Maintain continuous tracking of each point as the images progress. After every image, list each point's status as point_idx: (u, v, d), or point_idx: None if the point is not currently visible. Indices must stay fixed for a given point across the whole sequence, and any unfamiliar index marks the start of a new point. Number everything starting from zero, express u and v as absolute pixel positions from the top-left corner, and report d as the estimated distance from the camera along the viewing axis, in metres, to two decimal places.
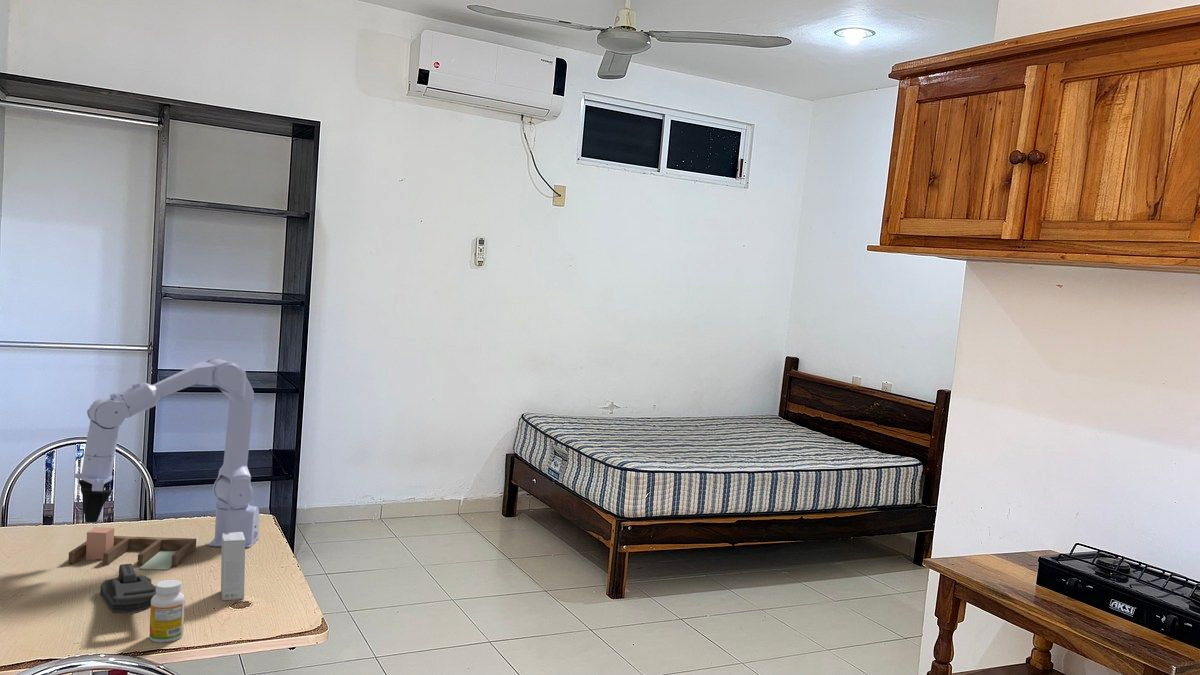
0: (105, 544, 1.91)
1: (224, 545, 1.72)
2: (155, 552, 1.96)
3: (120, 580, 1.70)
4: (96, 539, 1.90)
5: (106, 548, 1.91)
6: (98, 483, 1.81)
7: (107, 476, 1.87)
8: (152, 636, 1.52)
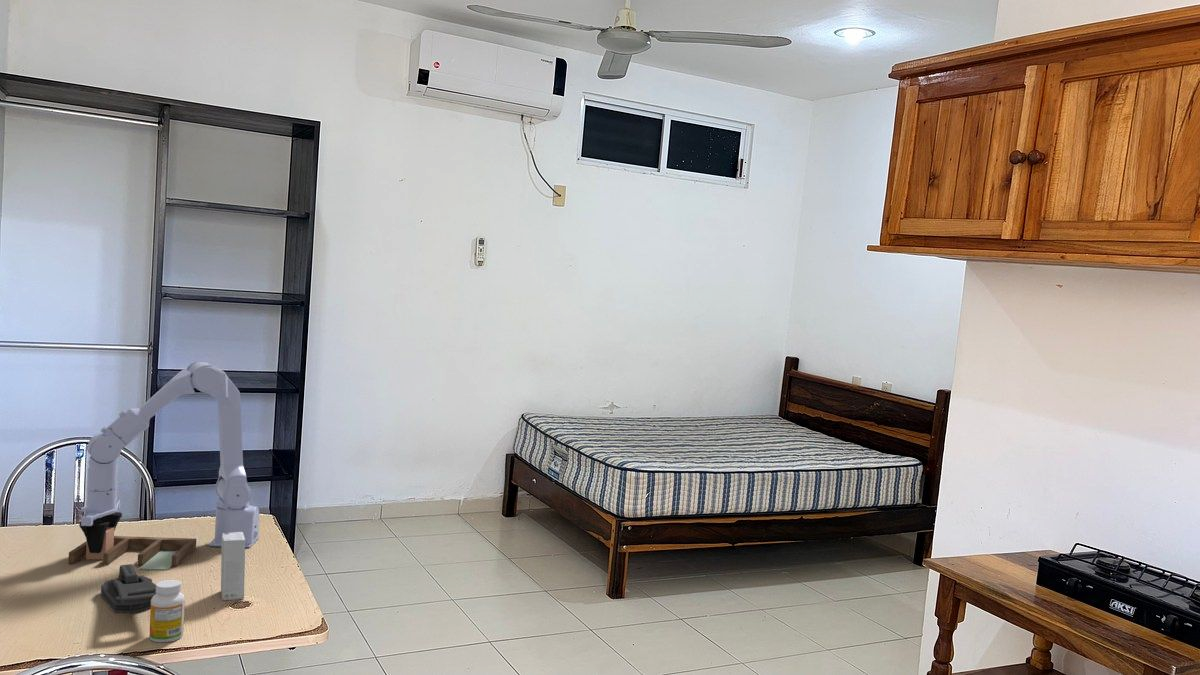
0: (105, 544, 1.91)
1: (224, 545, 1.72)
2: (155, 552, 1.96)
3: (121, 581, 1.70)
4: None
5: (106, 548, 1.91)
6: (86, 518, 1.85)
7: (106, 510, 1.90)
8: (152, 636, 1.52)
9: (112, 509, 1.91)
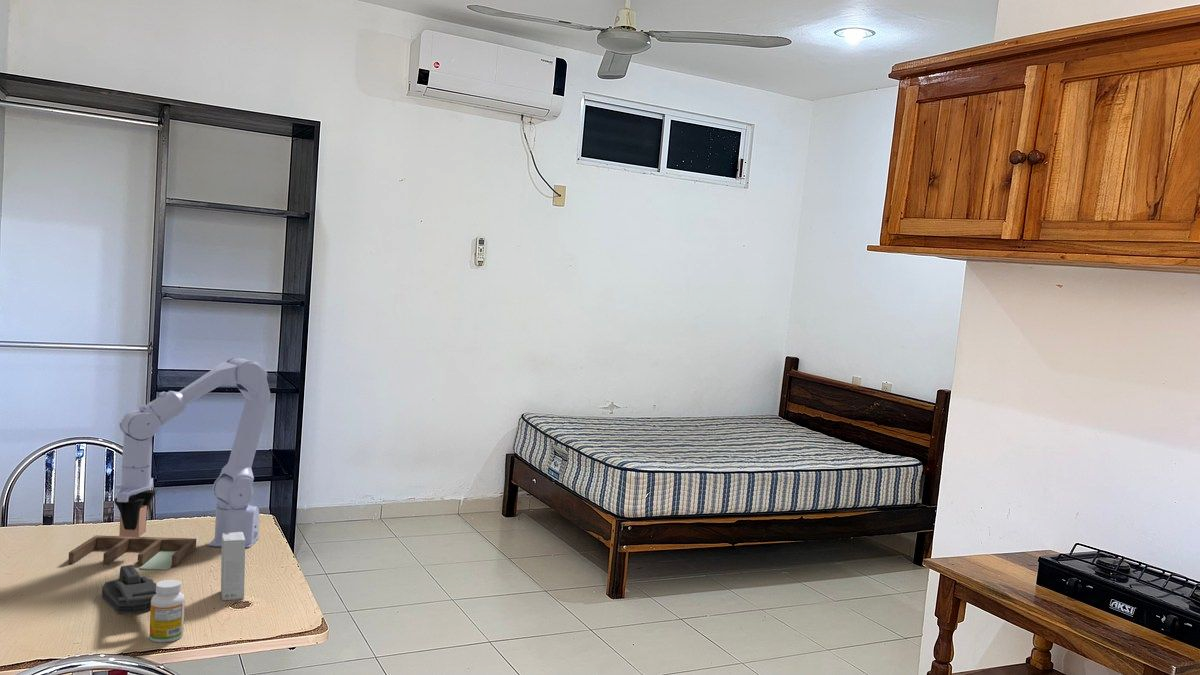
0: (138, 521, 1.91)
1: (224, 545, 1.72)
2: (155, 552, 1.96)
3: (123, 581, 1.69)
4: None
5: (139, 525, 1.91)
6: (121, 494, 1.85)
7: (141, 486, 1.91)
8: (152, 636, 1.52)
9: (147, 486, 1.92)
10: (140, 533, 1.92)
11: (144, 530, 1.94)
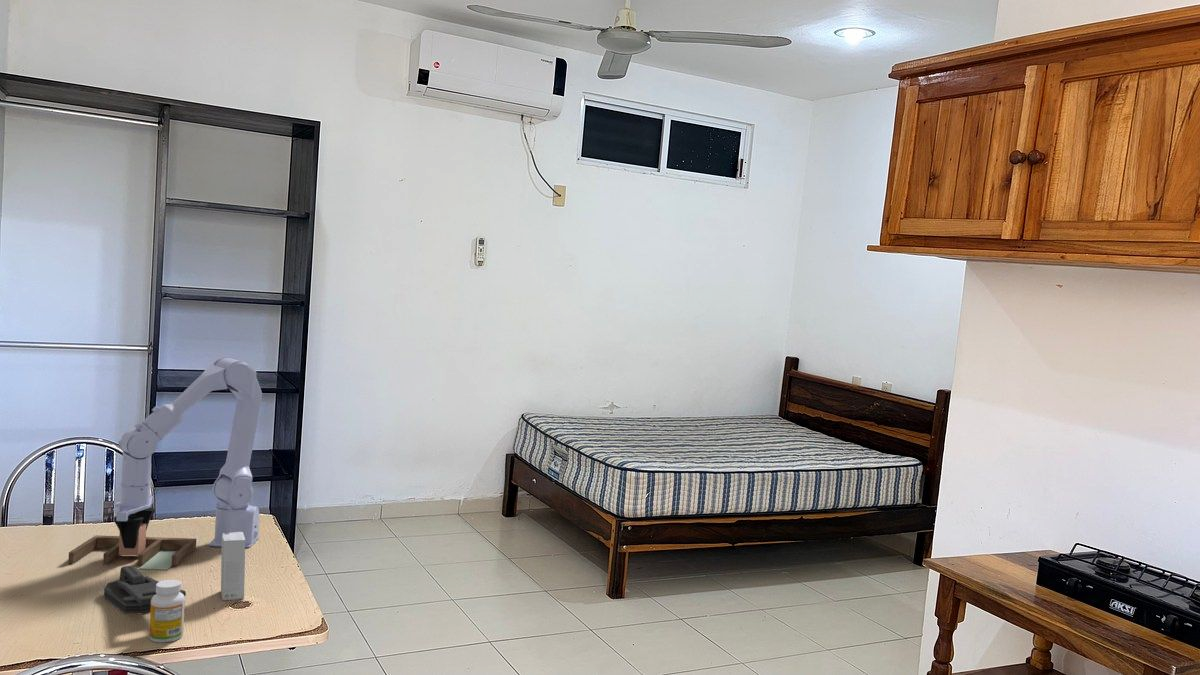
0: (138, 539, 1.91)
1: (224, 545, 1.72)
2: (155, 552, 1.96)
3: (126, 582, 1.69)
4: None
5: (138, 544, 1.92)
6: (121, 513, 1.86)
7: (140, 505, 1.91)
8: (152, 636, 1.52)
9: (146, 504, 1.92)
10: (139, 551, 1.93)
11: (143, 548, 1.95)
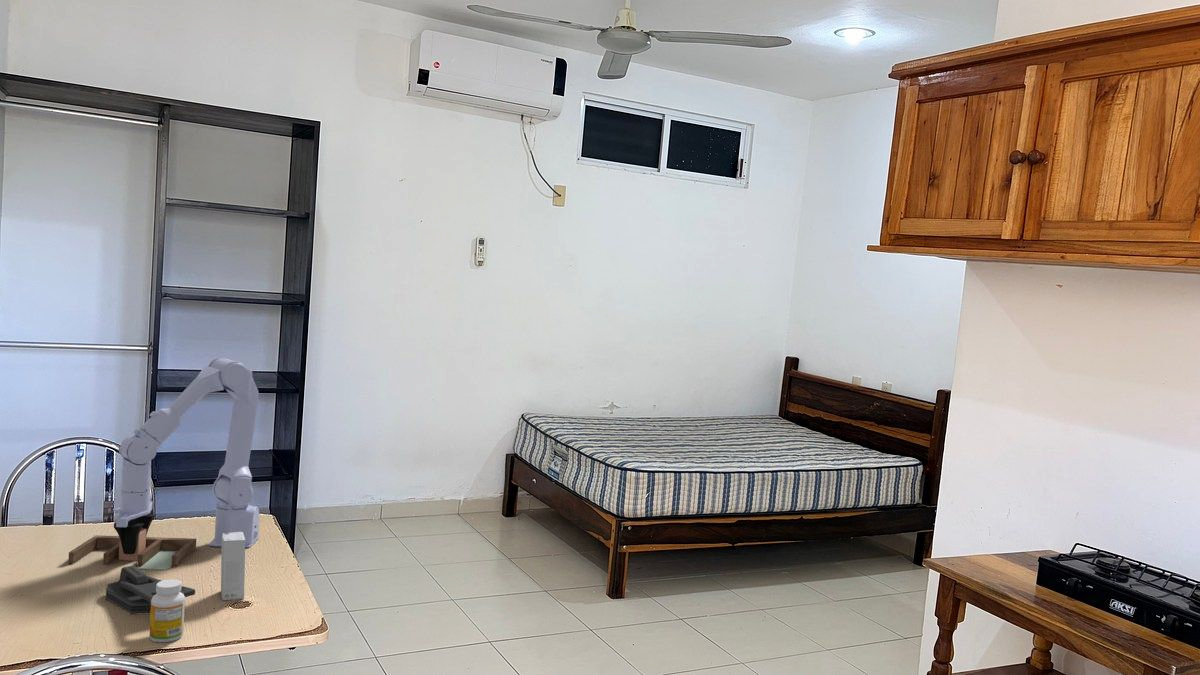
0: (138, 545, 1.92)
1: (224, 545, 1.72)
2: (155, 552, 1.96)
3: (129, 582, 1.69)
4: None
5: (138, 549, 1.92)
6: (121, 519, 1.86)
7: (140, 511, 1.91)
8: (152, 636, 1.52)
9: (146, 510, 1.92)
10: None
11: None
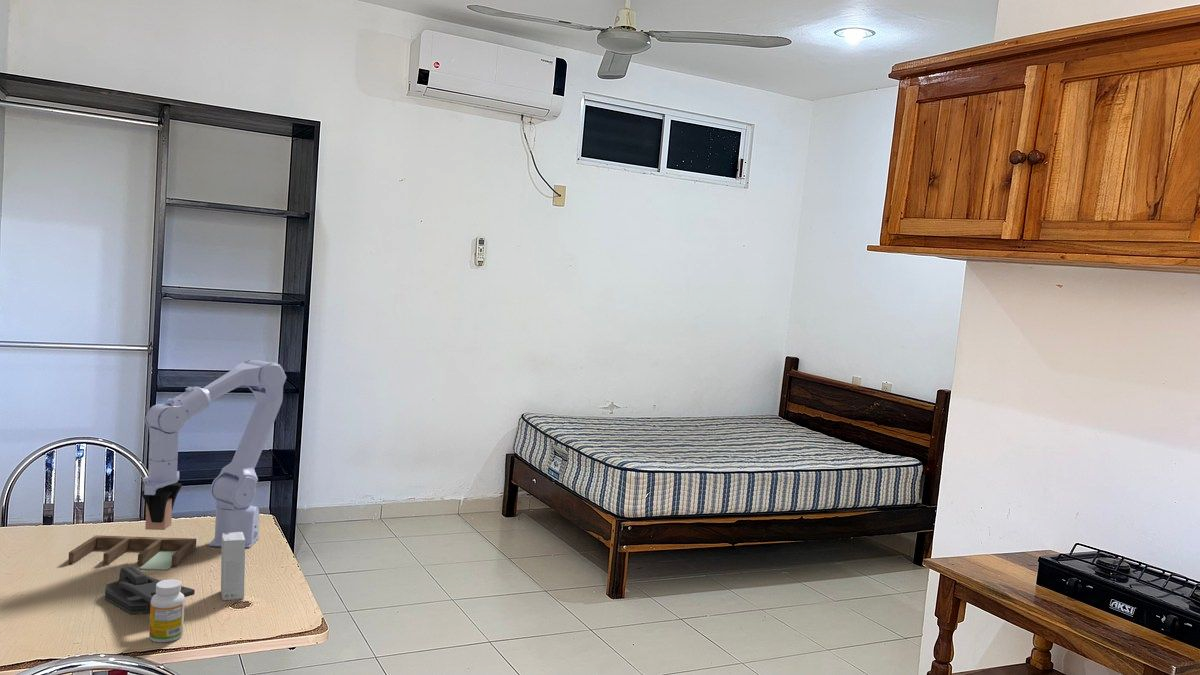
0: (164, 514, 1.92)
1: (224, 545, 1.72)
2: (155, 552, 1.96)
3: (128, 582, 1.69)
4: None
5: (165, 518, 1.92)
6: (149, 487, 1.86)
7: (168, 479, 1.91)
8: (152, 636, 1.52)
9: (173, 479, 1.92)
10: (166, 526, 1.93)
11: (170, 523, 1.95)
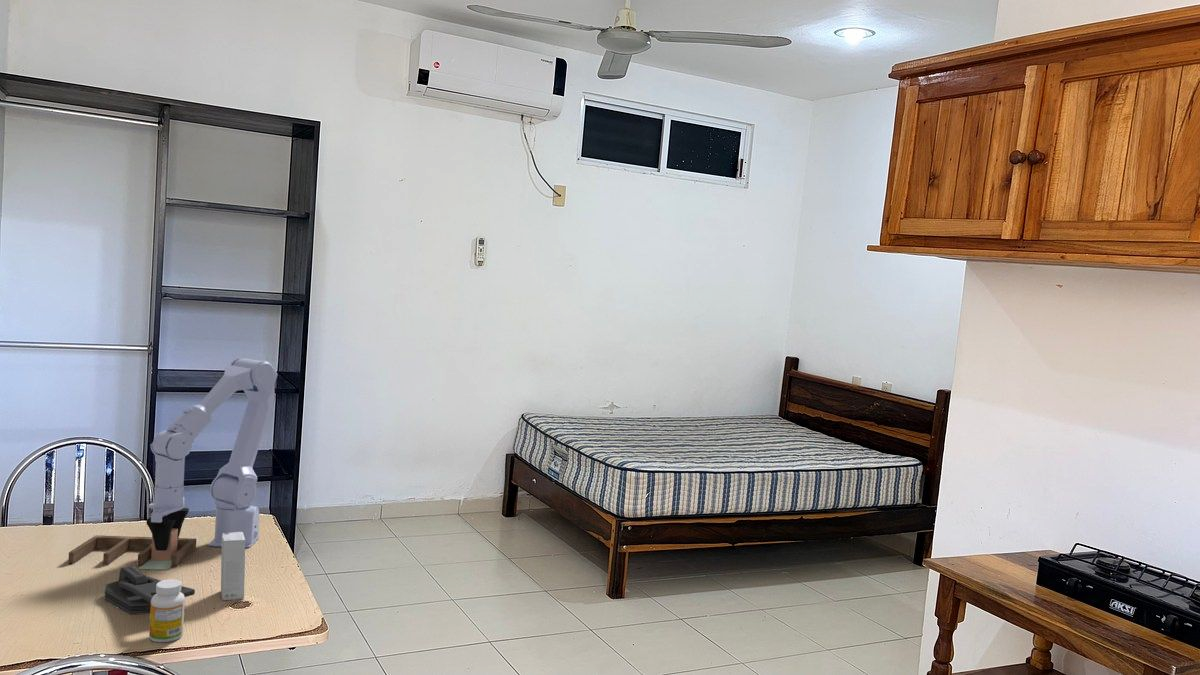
0: (170, 545, 1.92)
1: (224, 545, 1.72)
2: None
3: (128, 582, 1.69)
4: None
5: (171, 549, 1.93)
6: (155, 514, 1.86)
7: (174, 506, 1.92)
8: (152, 636, 1.52)
9: (179, 506, 1.93)
10: (171, 556, 1.93)
11: None
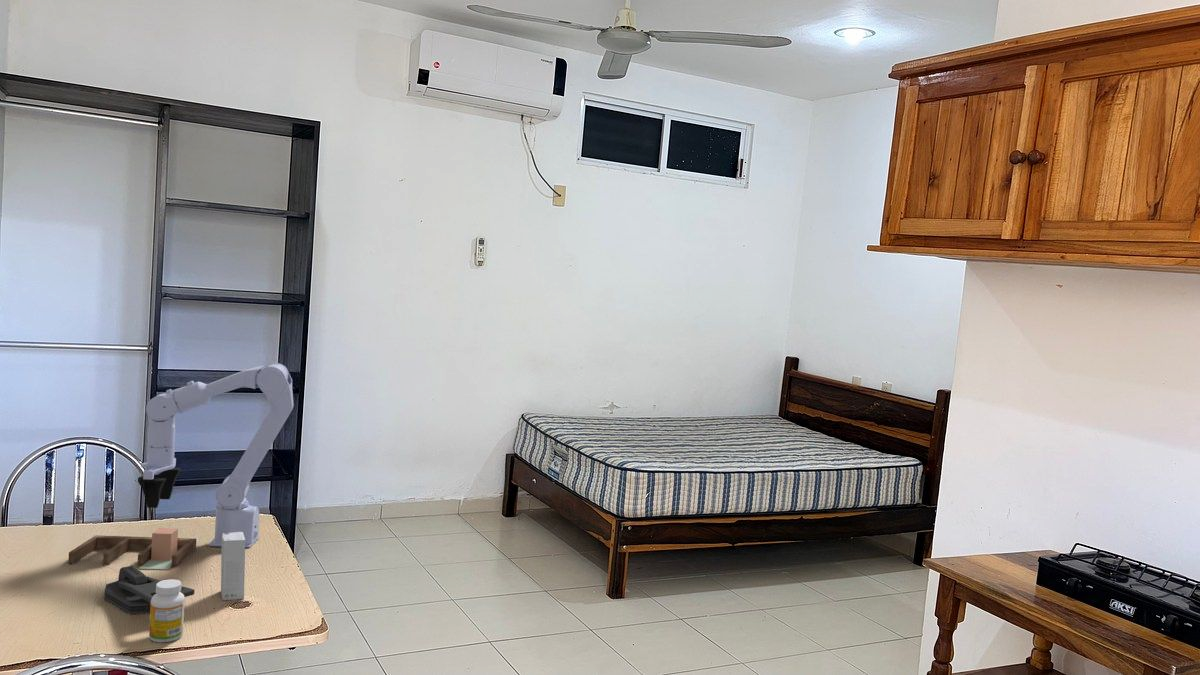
0: (170, 545, 1.92)
1: (224, 545, 1.72)
2: None
3: (128, 582, 1.69)
4: (161, 540, 1.92)
5: (171, 549, 1.93)
6: (147, 472, 1.96)
7: (165, 465, 2.01)
8: (152, 636, 1.52)
9: (170, 465, 2.03)
10: (171, 556, 1.93)
11: None
